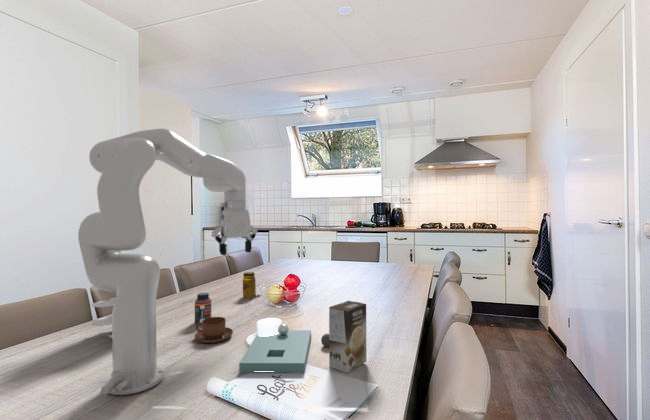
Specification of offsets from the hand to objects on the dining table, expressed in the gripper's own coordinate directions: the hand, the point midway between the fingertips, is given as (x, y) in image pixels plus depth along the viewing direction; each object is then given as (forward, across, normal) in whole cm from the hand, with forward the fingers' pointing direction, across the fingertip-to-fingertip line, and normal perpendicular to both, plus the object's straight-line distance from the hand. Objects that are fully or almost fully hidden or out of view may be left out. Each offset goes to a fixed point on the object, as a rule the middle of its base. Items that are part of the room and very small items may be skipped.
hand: (235, 253), depth 124 cm
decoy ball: (+25, +13, -36) cm, 45 cm away
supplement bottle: (+27, -8, +11) cm, 30 cm away
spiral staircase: (+27, -33, +18) cm, 46 cm away
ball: (+22, +4, -24) cm, 33 cm away
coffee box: (+27, +9, -49) cm, 56 cm away
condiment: (+27, +24, +35) cm, 50 cm away
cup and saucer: (+27, -11, -6) cm, 30 cm away
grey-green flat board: (+26, -1, -30) cm, 40 cm away
